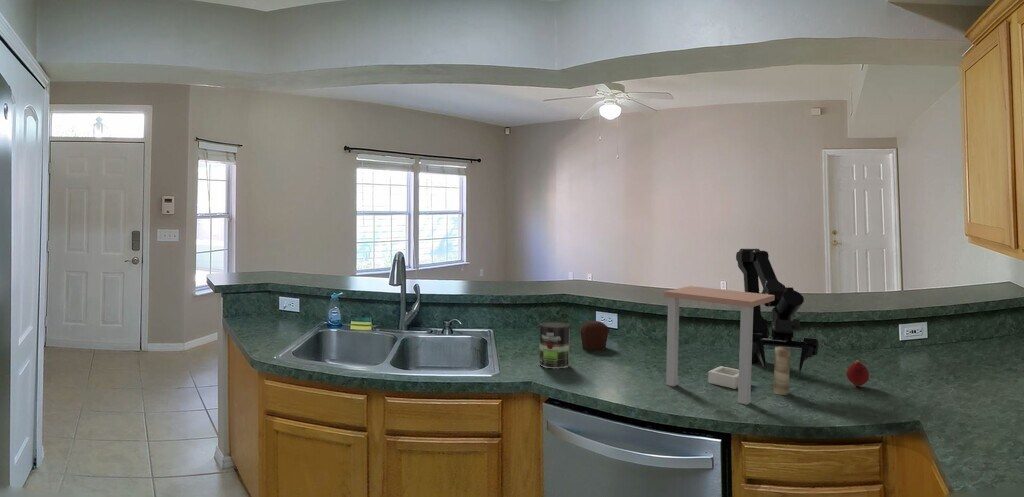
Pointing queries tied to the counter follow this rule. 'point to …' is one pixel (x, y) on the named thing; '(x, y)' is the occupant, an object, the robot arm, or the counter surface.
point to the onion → (857, 373)
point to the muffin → (594, 335)
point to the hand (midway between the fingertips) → (782, 368)
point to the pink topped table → (746, 329)
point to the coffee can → (554, 344)
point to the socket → (724, 377)
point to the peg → (781, 370)
